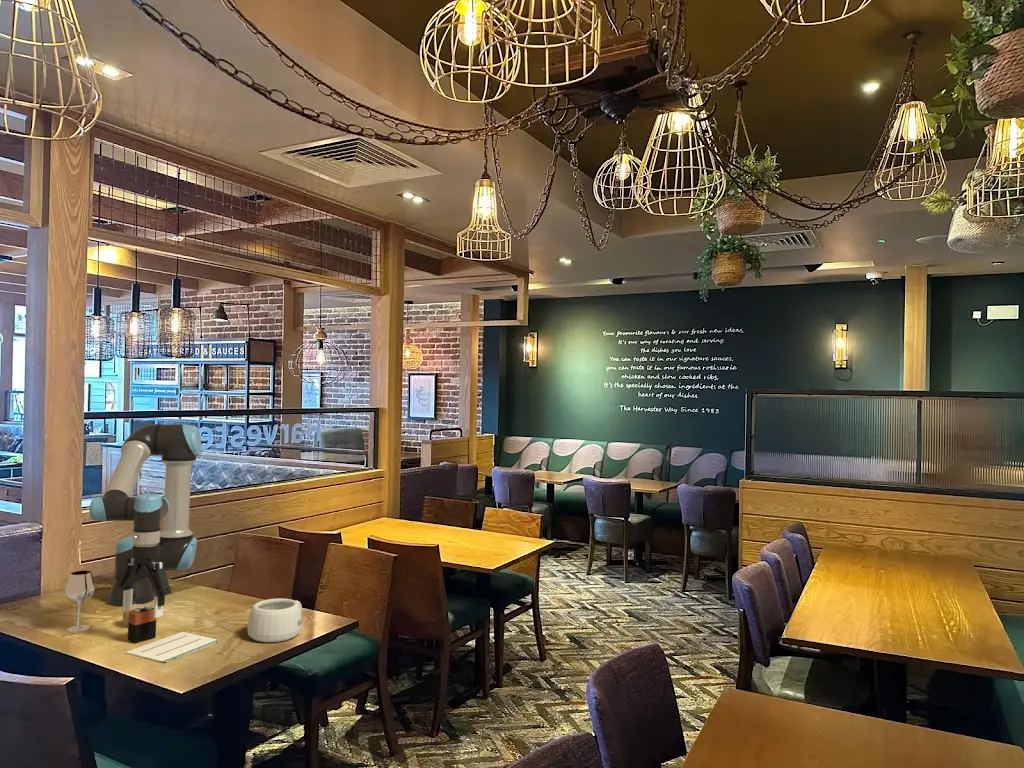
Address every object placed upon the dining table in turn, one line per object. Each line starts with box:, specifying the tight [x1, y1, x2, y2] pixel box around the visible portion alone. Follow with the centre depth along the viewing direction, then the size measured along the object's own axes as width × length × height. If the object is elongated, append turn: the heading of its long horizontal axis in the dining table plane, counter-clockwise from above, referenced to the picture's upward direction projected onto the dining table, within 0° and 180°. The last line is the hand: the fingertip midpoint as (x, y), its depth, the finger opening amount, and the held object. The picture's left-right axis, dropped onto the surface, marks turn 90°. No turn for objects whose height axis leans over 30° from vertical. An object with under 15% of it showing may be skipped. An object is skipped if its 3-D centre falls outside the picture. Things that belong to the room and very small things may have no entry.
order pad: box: [125, 631, 221, 663], centre depth 207 cm, size 20×16×1 cm
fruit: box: [122, 601, 146, 626], centre depth 225 cm, size 8×7×8 cm
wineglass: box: [64, 570, 96, 633], centre depth 220 cm, size 8×8×18 cm
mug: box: [246, 598, 303, 643], centre depth 223 cm, size 21×17×10 cm
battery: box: [127, 604, 157, 644], centre depth 213 cm, size 4×7×10 cm, turn 146°
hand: (142, 613), depth 212 cm, fingers open, 13 cm apart
